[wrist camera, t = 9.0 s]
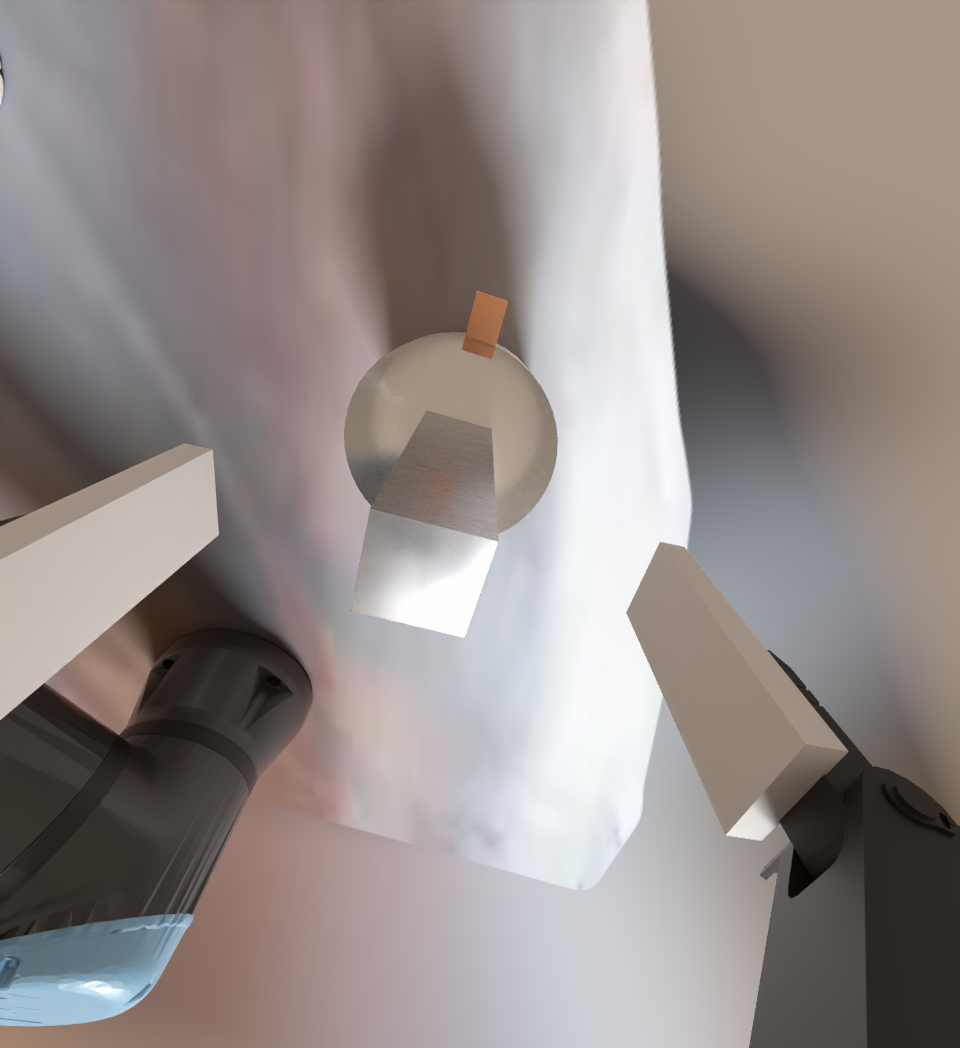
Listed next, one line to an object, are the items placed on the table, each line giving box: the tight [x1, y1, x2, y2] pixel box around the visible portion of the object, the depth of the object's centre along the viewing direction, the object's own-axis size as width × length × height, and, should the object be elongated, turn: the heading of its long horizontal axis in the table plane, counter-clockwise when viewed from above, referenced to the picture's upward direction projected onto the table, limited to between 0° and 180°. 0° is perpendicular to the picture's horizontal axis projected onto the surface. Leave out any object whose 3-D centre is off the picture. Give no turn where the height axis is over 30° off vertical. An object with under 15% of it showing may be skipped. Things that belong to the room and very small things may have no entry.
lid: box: [344, 291, 557, 637], centre depth 17 cm, size 12×10×14 cm
